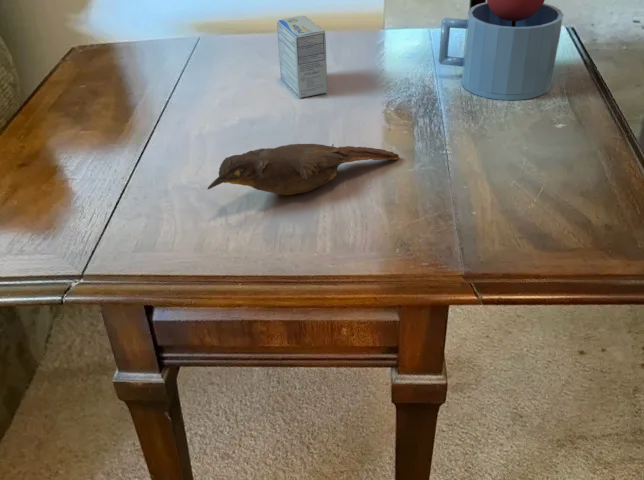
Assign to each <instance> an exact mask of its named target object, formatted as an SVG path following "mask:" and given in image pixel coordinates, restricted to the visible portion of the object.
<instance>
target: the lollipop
mask: <svg viewBox="0 0 644 480" xmlns="http://www.w3.org/2000/svg"><path fill="white" fill-rule="evenodd" d="M486 2H488V5H489V8H490V9H491V11H492V12H493V13H494V14H495V15H496V16H497V17H499V18H501V19H503V20H507V21H512V26H511V27H515V25H516V21H521V20H524V19H527V18H529V17H531V16H532V15H534V14H535V13H536V12H537V11H538V10H539V9H540V8H541V6H542V5H543V3H545V0H486Z"/></svg>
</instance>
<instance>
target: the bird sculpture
mask: <svg viewBox="0 0 644 480" xmlns="http://www.w3.org/2000/svg"><path fill="white" fill-rule="evenodd" d="M334 145H335V144H334V143H332V144H331V146H330V145H326V144H325V145H324V144H320V143H319V144H318V143H292V144H291V143H290V144H286V145H280V146H277V147H274V148H272V147H271V148H270V147H268V148H259V149H254V150H249V151H247V152H243V153H242V154H234V155H230V156H228V157H225V158H224V159H223V161H222V162H221V164H220V166H219V168H218V170H219V171H218V177H216V178H215V179H214V180H213V181H212V182H211V183H210V184H209V185H208V187H207V190H211V189H213V188H214V187H217V186H219V185H221V184H231V185H239V186H244V187H245V186H247V187H250V188H253V189H255V190H257V191H263V192H268V193H272V194H276V195H283V196H293V195H297V194H298V195H299V194H304V193H308V192H311V191H313V190H314V189H316V188H318V187H319V188H320V187H321V186H323V185H325V184H327V183H328V182H330V181H332V180H334V179H335V177H336V176H337V171H338V168H339V166H341V165H342V164H345V163H353V162H358V161H359V162H361V161H368V160H373V161H385V160H394V161H397V160H400V154H399V153H394V152H393V151H389V150H387V149H386V150H385V149H382V148H375V147H366V146H353V145H347V146H338V147H337V146H334Z"/></svg>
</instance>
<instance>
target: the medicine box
mask: <svg viewBox="0 0 644 480" xmlns="http://www.w3.org/2000/svg"><path fill="white" fill-rule="evenodd" d="M276 27H277V28H276V29H277V43H278V59H279V60H278V61H279V74H280V75H279V76H280V80H281V81H282V82H283V83H284V84H285V85H286V86H287V87H288V88H289V89H290V90H291V91H292V92H293V93H294V94H295V95H297V97H298V98H299V99H301V98H308V97H313V96H317V95H324V94H326V93H328V70H327V69H328V67H327V39H326V37H327V36H326V30H324V29H322V27H320V26H319V25H318V24H316V23H315V22H314V21H313V20H311V19H310V18H309V17H307V15H300V16H292V17H286V18H282V19H278V20H277V21H276Z"/></svg>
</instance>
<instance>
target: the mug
mask: <svg viewBox="0 0 644 480" xmlns="http://www.w3.org/2000/svg"><path fill="white" fill-rule="evenodd" d="M563 20H564V13H563V12H562V10H561V9H559V8H558V7H555V6H554V5H551V4H548V3H545V2H544V3H543V5H542V6H541V8H540V9H539V10H538V11H537V12H536V13H535V14H534V15H532V16H531V17H529V18H527V19H524V20H521V21H516V25H515V27H511V26H512V21H507V20H503V19H501V18H499V17H497V16H496V15H495V14H494V13H493V12H492V11H491V9H490V8H489V5H488V2H487V1H485V2H482V3H478V4H475V5H473V6H472V7H470V8H469V9H468V11H467V15H466V19H465V18H454V17H453V18H452V17H444V18H443V19H441V25H440V37H439V39H440V40H439V50H438V51H439V52H438V53H439V54H438V64H440V65H441V66H453V67H462V68H461V85H462V87H463V88H464V89H465V90H466V91H468V92H469V93H472V94H474V95H476V96H479V97H482V98H486V99H491V100H499V101H523V100H530V99H534V98H539V97H541V96H543V95H545V94H546V93H548V92H549V91H550V89H551V88H552V82H553V80H554V73H555V68H556V62H557V56H558V50H559V44H560V38H561V31H562V26H563ZM451 29H462V30H465V36H464V37H465V38H464V45H463V57H461V56H451V55H449V46H450V32H451Z"/></svg>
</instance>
